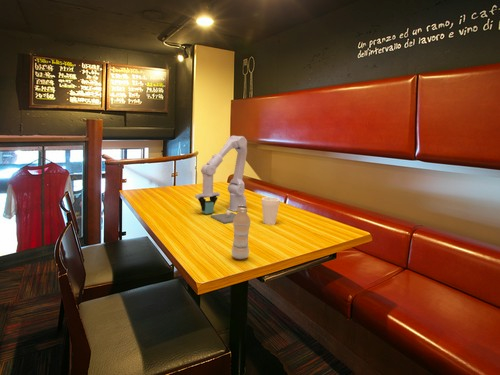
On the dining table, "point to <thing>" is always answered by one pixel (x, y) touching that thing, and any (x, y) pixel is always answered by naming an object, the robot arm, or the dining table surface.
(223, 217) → the stub board
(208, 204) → the sleeve
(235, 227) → the plastic bottle
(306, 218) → the dining table surface
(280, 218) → the dining table surface
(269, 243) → the dining table surface
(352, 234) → the dining table surface
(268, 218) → the foam cup
